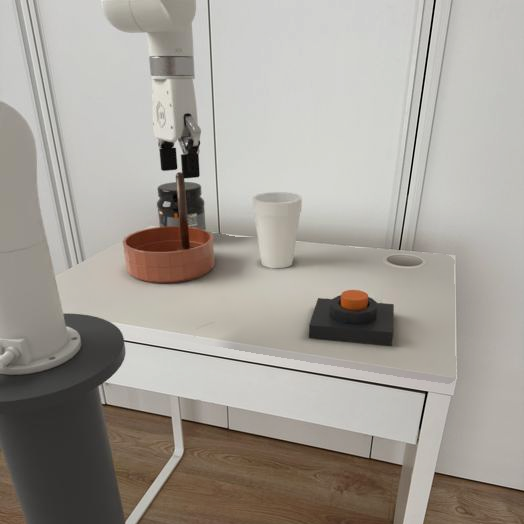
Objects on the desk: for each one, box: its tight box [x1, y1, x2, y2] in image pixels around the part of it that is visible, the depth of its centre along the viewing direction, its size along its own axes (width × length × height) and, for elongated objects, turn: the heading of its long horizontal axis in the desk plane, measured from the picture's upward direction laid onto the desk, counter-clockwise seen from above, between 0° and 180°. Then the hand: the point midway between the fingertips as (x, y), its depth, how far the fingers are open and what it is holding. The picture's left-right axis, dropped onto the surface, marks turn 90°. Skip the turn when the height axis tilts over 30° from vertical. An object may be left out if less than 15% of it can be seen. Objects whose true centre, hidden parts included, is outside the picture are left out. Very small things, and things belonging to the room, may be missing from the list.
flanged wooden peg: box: [175, 171, 195, 251], centre depth 101 cm, size 4×4×16 cm
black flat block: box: [308, 294, 395, 347], centre depth 79 cm, size 10×12×4 cm
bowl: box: [122, 226, 216, 284], centre depth 102 cm, size 17×17×6 cm
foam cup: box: [252, 191, 303, 269], centre depth 102 cm, size 10×9×13 cm
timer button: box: [340, 289, 369, 310], centre depth 77 cm, size 4×4×2 cm
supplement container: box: [156, 181, 207, 230], centre depth 116 cm, size 10×10×12 cm
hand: (179, 173), depth 97 cm, fingers open, 9 cm apart
